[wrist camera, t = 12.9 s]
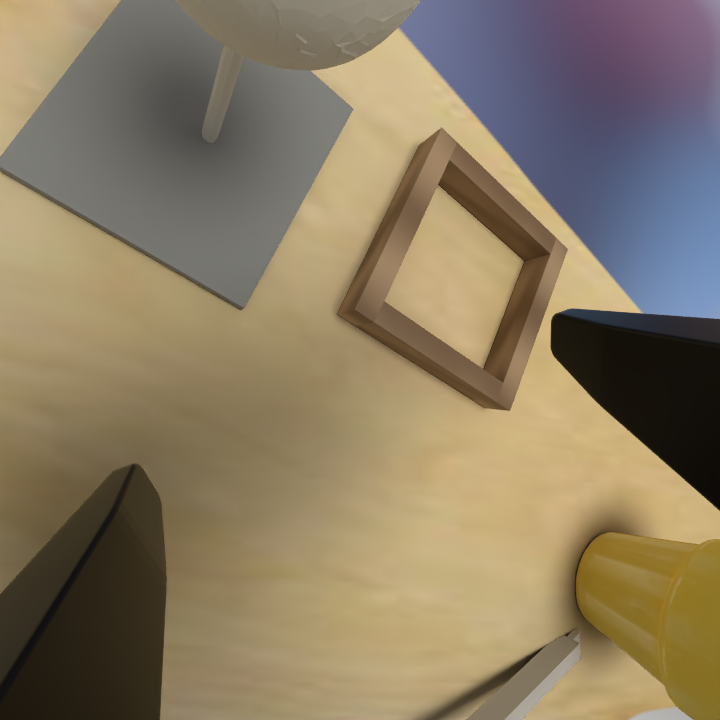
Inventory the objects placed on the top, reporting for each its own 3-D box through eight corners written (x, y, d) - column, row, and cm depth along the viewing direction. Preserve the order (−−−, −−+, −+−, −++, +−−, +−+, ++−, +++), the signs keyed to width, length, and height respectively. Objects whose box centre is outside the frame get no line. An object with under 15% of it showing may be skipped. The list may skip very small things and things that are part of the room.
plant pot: (611, 674, 32) (786, 786, 24) (535, 616, 29) (709, 722, 20) (658, 548, 36) (828, 606, 27) (595, 481, 32) (767, 522, 23)
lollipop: (302, 210, 21) (593, -79, 8) (141, 223, 18) (148, -236, 4) (267, 58, 20) (516, -547, 7) (94, 43, 17) (-61, -1125, 4)
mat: (241, 309, 20) (244, 307, 20) (-1, 170, 16) (-6, 163, 16) (348, 114, 23) (353, 108, 22) (165, -46, 19) (165, -58, 18)
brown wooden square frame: (485, 407, 27) (509, 410, 25) (337, 314, 22) (354, 309, 21) (541, 256, 30) (567, 249, 28) (419, 144, 25) (441, 127, 23)
